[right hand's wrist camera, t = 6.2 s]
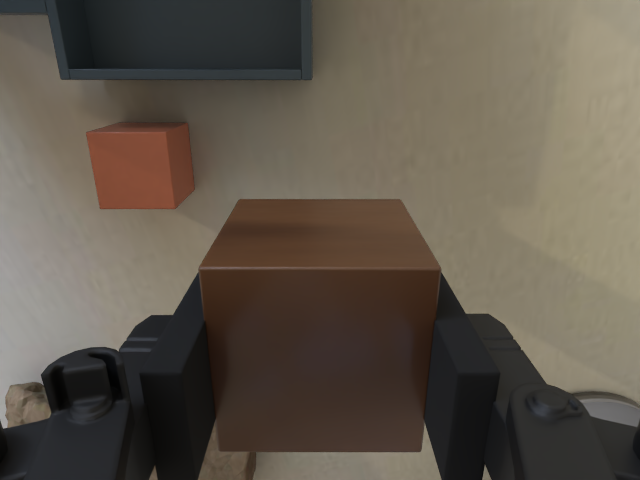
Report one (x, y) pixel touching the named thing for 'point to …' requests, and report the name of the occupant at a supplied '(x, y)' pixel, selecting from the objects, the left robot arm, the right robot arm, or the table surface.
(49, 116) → the table surface
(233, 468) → the stone
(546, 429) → the right robot arm
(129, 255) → the table surface
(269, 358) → the walnut cube
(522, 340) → the table surface
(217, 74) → the tray
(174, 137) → the terracotta cube
